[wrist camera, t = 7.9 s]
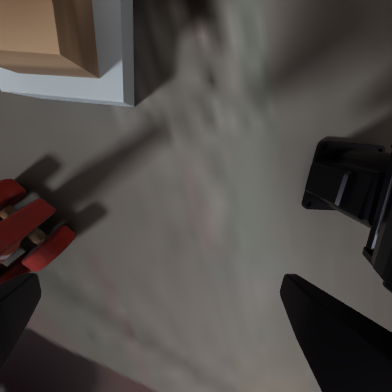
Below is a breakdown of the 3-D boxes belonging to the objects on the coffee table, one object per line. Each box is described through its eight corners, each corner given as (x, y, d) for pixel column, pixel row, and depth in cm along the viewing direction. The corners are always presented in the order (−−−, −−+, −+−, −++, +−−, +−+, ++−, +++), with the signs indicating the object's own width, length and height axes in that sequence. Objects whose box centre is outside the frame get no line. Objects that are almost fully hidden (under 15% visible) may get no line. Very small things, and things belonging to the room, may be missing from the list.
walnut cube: (99, 78, 12) (59, 54, 8) (18, 73, 12) (-68, 44, 8) (90, -17, 11) (36, -107, 7) (-3, -28, 10) (-123, -131, 6)
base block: (133, -1, 14) (118, -45, 11) (135, 107, 17) (123, 102, 13) (25, -18, 14) (-33, -71, 10) (42, 98, 16) (1, 90, 12)
